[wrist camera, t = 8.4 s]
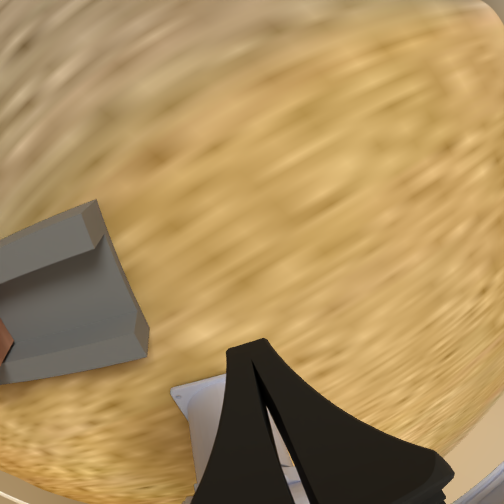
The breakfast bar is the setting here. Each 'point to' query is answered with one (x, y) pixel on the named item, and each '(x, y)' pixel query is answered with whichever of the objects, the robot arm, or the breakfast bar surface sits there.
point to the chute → (66, 299)
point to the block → (4, 341)
